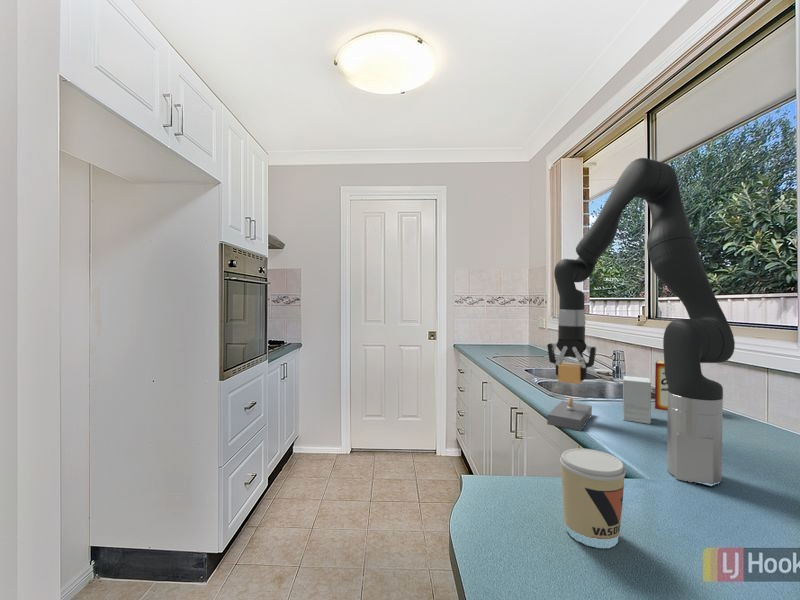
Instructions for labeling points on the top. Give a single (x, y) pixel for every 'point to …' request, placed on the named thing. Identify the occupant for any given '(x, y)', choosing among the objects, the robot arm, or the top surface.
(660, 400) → the baking soda box
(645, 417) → the supplement box
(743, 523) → the top surface
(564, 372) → the orange kitchen sponge
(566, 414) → the board
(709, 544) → the top surface
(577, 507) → the coffee cup
